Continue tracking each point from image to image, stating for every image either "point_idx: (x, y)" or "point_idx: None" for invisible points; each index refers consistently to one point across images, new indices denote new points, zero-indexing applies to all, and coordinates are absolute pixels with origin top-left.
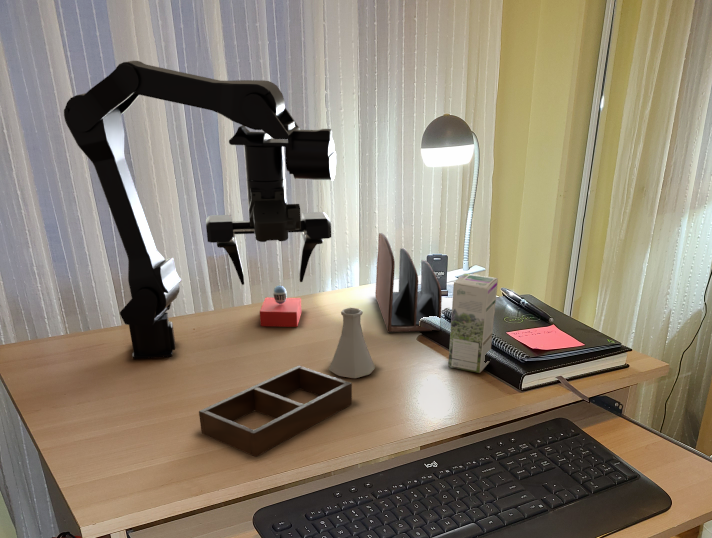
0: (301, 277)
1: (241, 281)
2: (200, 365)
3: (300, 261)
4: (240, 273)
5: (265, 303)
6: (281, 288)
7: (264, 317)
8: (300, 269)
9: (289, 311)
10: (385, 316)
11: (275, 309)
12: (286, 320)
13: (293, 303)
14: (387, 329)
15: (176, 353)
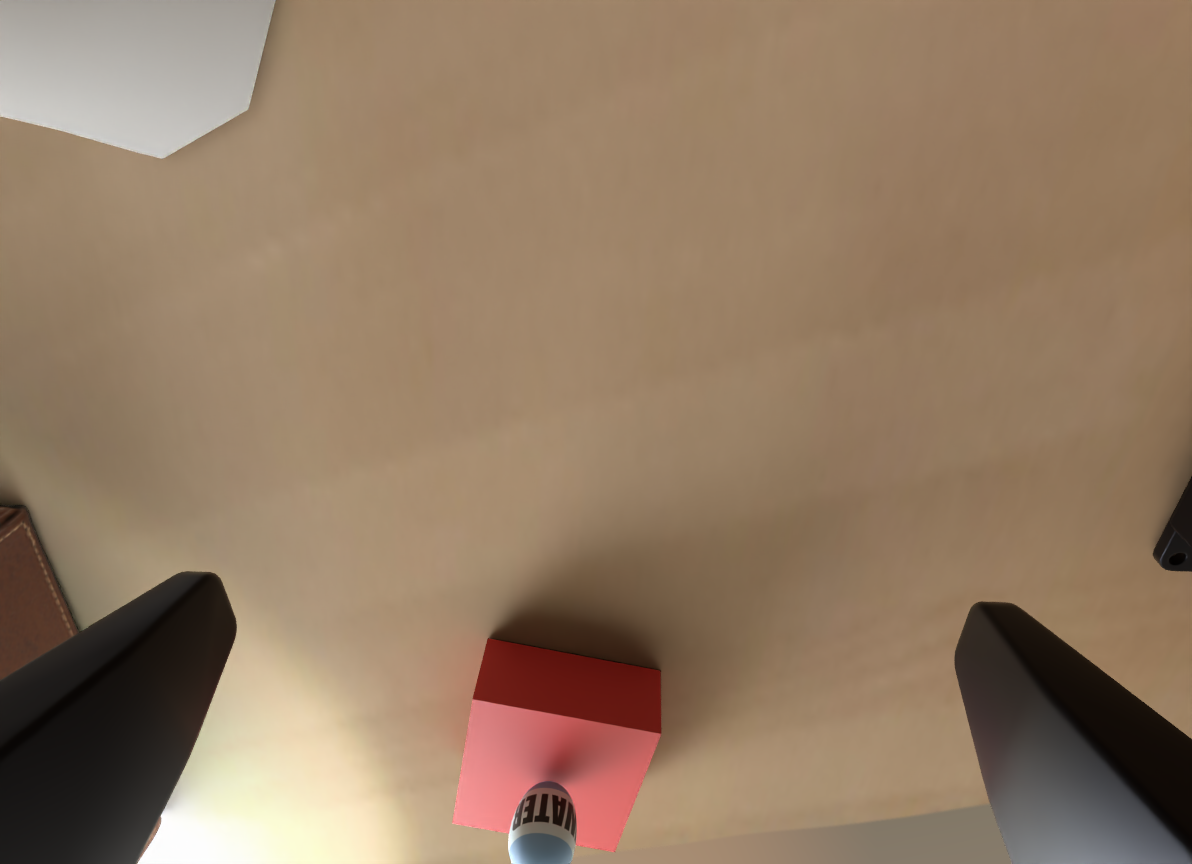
0: (154, 607)
1: (1040, 627)
2: (1110, 247)
3: (5, 850)
4: (1123, 724)
5: (622, 801)
6: (529, 859)
7: (639, 703)
8: (72, 693)
9: (509, 711)
10: (31, 620)
11: (579, 740)
12: (533, 672)
13: (487, 782)
14: (17, 518)
15: (1179, 443)
